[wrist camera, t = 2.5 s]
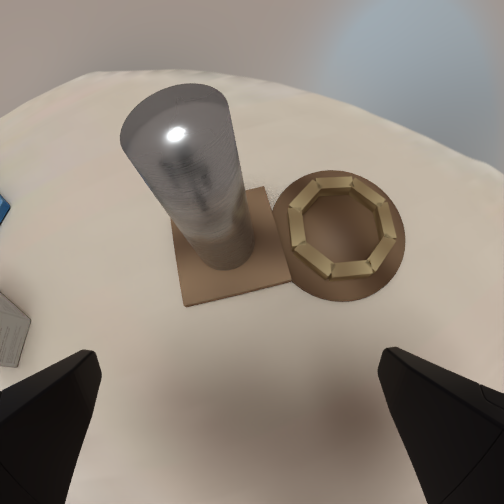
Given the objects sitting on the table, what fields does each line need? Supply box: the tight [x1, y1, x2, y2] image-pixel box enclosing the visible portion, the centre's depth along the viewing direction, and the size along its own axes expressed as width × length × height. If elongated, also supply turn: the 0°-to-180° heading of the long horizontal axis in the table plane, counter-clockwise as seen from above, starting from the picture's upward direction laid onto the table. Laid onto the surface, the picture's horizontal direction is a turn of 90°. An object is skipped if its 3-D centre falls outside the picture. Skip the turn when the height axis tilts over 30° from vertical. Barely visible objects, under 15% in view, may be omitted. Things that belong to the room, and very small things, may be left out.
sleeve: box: [120, 83, 255, 271], centre depth 16 cm, size 4×4×13 cm
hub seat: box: [272, 170, 405, 302], centre depth 22 cm, size 11×11×2 cm
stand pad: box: [170, 186, 292, 307], centre depth 23 cm, size 8×8×1 cm
